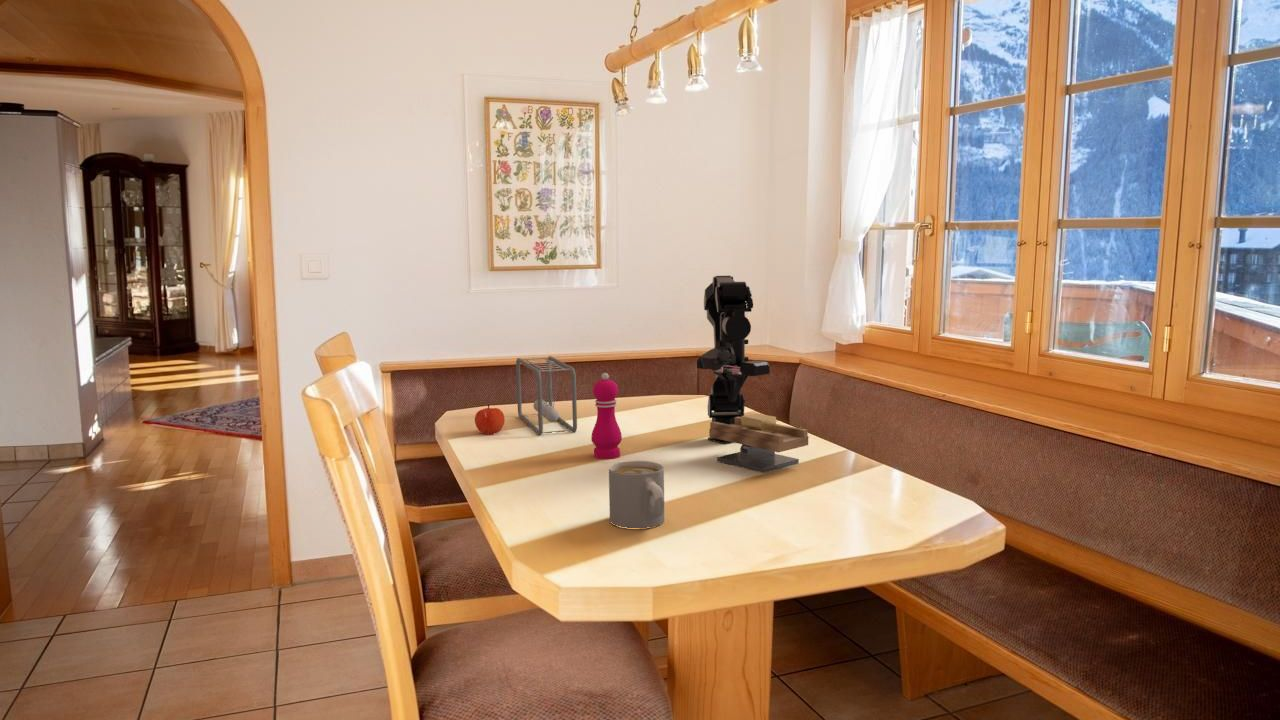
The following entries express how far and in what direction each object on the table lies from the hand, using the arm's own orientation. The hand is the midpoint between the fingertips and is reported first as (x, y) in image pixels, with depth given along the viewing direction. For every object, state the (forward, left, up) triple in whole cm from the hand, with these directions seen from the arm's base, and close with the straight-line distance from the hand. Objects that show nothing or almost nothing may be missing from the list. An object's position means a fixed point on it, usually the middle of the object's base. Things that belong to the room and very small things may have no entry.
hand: (732, 401), depth 204 cm
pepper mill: (-20, -22, -13) cm, 33 cm away
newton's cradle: (-61, -12, -13) cm, 63 cm away
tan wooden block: (+9, -1, -6) cm, 11 cm away
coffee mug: (+24, -49, -13) cm, 56 cm away
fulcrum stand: (+9, -1, -13) cm, 16 cm away
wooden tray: (+9, -1, -8) cm, 12 cm away
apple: (-62, -29, -13) cm, 70 cm away
